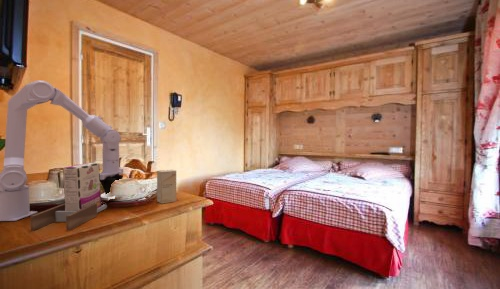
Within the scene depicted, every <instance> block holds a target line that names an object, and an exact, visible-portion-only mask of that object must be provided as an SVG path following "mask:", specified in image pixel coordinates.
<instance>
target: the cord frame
mask: <svg viewBox="0 0 500 289" xmlns="http://www.w3.org/2000/svg"><path fill="white" fill-rule="evenodd" d="M107 208H108V204H103V205H101V207H99V208H97V214H98V213H100V212H102V211H103V210H106V209H107ZM74 212H76V211H56V212H55V214H56V221H55V222H59V223H63V222H65V223H66V216H67V215H70V214H72V213H74Z"/></svg>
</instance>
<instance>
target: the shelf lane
mask: <svg viewBox="0 0 500 289" xmlns="http://www.w3.org/2000/svg"><path fill="white" fill-rule="evenodd" d="M56 211H65V203H62V204H58V205H57V206H54V207H51V208H48V209H46V210H42V211H40V212H37V213H35V214H33V215H30V231H31V232H33V231H37V230H40V229H41V228H43V227H46V226H47V225H50V224H52V223H55V222H56V214H55V212H56ZM96 217H98V213H97V204H92V205H90V206H87V207H85V208H83V209H81V210H79V211H76V212H74V213H72V214H70V215H67V216H66V222H65V224H66V231H67V232H68V231H72V230H74V229H76V228H78V227H79V226H81V225H83V224H86V223H87V222H88V221H91V220H92V219H94V218H96Z"/></svg>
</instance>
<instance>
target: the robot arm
mask: <svg viewBox="0 0 500 289" xmlns="http://www.w3.org/2000/svg"><path fill="white" fill-rule="evenodd" d="M48 102H50V105H53V106H59V107H62V108H63V109H65V110H66V111H67V112H69V113H71V114H72V115H73V116H74V117H76V118H78V119H79V120H80V121H81V122H82V126H83V127H84V128H85V129H86V130H88V131H89V132H90V133H91V134H92V135H94V136H95V137H97V138H99V140H100V142H101V143H102V149H101V151H102V171H101V172H100V185H102V188H103V191H104V194H105V195H106V194H107V193H109V192H110V187H111V184H112V183H113V182H114V181H115V180H119V179H123V178H124V175H123V174H124V168H121V167H120V142H121V141H122V136H121V135H120V132H118V131H117V130H116V129H112V128H113V126H112V125H108V124H107V123H106V122H104V120H102V119H103V118H102V117H101V116H100V115H99V116H97V115H95V114H89V113H88V112H86V111H85V110H84V109H83V108H82V107H80V106H79V104H77V103H76V102H75V101H73V100H72V98H70V97H69V96H68V95H66V94H65V93H64V92H63V91H62V90H60V89H58V88H57V87H54V86H53V85H52V84H51V83H50V82H48V81H46V80H40V79H39V80H35V81H32V82H28V83H26V84H25V85H24V86H22V88H21V89H20V90H19V91H17V92H16V93H14V94H13V96H12V97H10V98H9V99H8V101H7V112H6V125H5V126H6V127H5V128H6V129H5V145H4V158H3V167H2V168H3V169H2V170H1V172H0V222H16V221H18V220H22V219H23V218H24V219H25V218H27V217H29V216H32V215H35V214H37V213H38V211H37V210H36V211H35V210H31V208H30V204H31V203H30V185H27V184H26V183H27V182H28V176H27V172H26V171H25V152H26V151H25V150H26V149H25V148H26V133H27V119H28V118H27V117H28V110H29V109H32V108H33V107H36V105H40V104H44V103H48Z"/></svg>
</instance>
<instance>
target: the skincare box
mask: <svg viewBox="0 0 500 289" xmlns="http://www.w3.org/2000/svg"><path fill="white" fill-rule="evenodd" d="M156 173H157V174H156V176H157V177H156V182H157V184H156V185H157V186H156V191H157V192H156V200H157V202H158V203H160V204H168V203H174V202H177V170H175V169H165V170H157V171H156Z"/></svg>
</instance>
